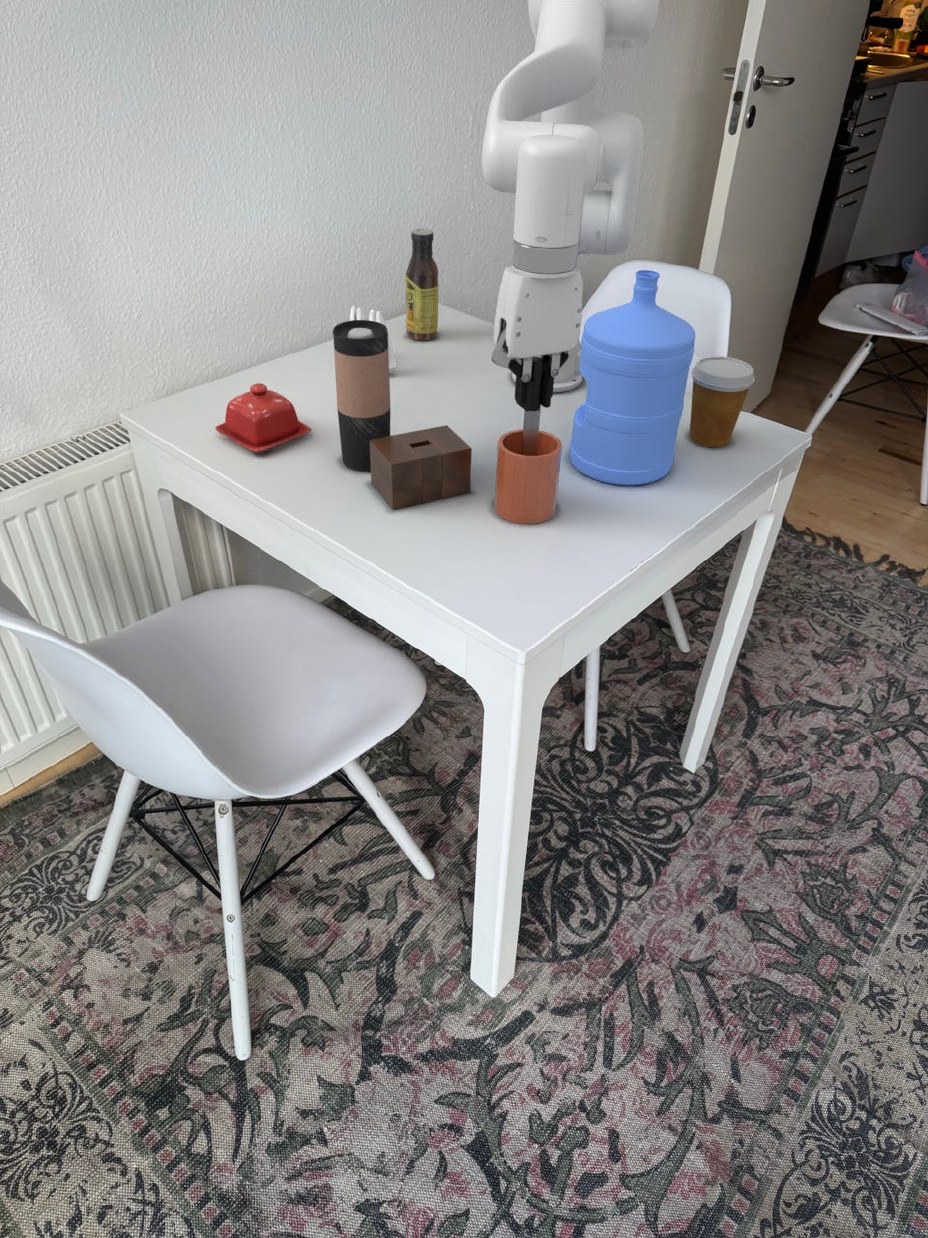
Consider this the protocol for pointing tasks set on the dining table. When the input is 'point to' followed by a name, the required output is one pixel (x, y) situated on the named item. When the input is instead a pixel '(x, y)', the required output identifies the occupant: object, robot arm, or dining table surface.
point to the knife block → (420, 466)
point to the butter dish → (261, 419)
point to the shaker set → (381, 320)
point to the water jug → (632, 389)
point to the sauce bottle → (422, 288)
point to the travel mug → (361, 388)
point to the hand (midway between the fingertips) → (532, 404)
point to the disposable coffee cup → (718, 398)
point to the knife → (533, 410)
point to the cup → (527, 478)
